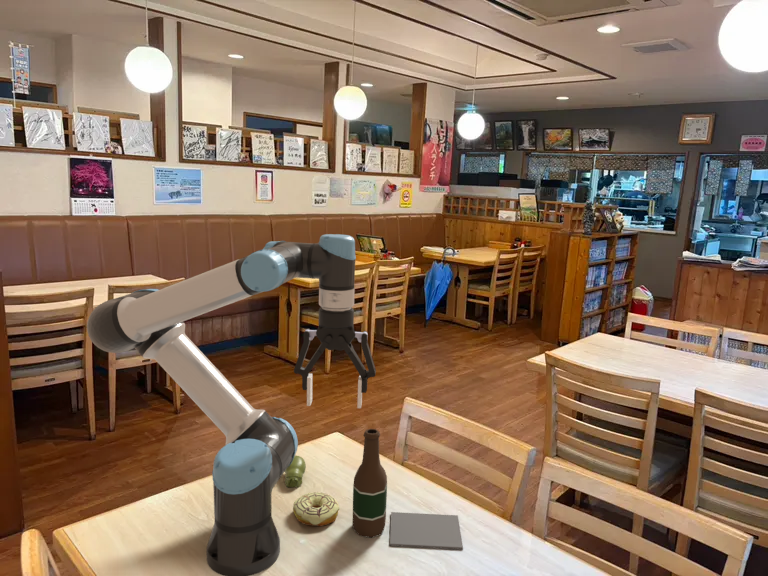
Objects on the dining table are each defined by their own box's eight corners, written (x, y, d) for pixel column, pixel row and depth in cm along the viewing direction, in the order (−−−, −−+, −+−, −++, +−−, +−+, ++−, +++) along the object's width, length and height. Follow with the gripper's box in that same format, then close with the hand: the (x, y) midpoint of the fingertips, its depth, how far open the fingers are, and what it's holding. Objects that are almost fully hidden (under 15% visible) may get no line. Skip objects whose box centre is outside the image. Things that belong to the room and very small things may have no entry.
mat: (389, 545, 123) (390, 543, 123) (391, 513, 135) (391, 512, 135) (462, 549, 123) (463, 547, 123) (457, 517, 135) (457, 515, 134)
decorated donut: (318, 535, 126) (318, 520, 126) (284, 518, 132) (284, 503, 132) (347, 513, 135) (347, 499, 134) (313, 498, 141) (314, 484, 140)
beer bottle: (350, 519, 132) (352, 424, 128) (382, 516, 134) (385, 422, 129) (354, 540, 125) (357, 439, 120) (388, 537, 126) (392, 438, 122)
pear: (306, 451, 153) (303, 476, 143) (306, 467, 155) (303, 492, 145) (286, 451, 152) (281, 476, 143) (286, 467, 154) (281, 492, 145)
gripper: (279, 308, 116) (279, 409, 120) (389, 313, 116) (385, 414, 120) (286, 301, 124) (286, 395, 128) (390, 305, 123) (386, 400, 127)
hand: (334, 404), depth 124 cm, fingers open, 10 cm apart
